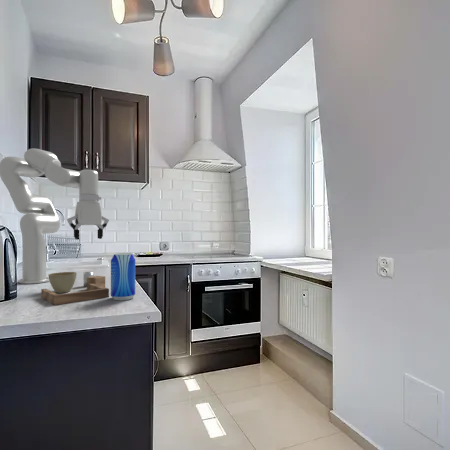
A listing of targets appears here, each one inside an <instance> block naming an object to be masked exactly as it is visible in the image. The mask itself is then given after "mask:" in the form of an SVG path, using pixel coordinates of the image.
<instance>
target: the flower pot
mask: <svg viewBox="0 0 450 450" xmlns="http://www.w3.org/2000/svg"><path fill="white" fill-rule="evenodd" d="M77 275H78V274H77V272H76V271H75V272H74V271H63V272H62V271H61V272H59V271H58V272H53V273H48V276H47V277H48V278H49V281H48V282H49V283H50V287H52V289H53V292H54V293H56V294H66V293H70V292H71V291H72V288H73V287H74V285H75V282H76V279H77Z"/></svg>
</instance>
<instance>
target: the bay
mask: <svg viewBox="0 0 450 450" xmlns="http://www.w3.org/2000/svg"><path fill="white" fill-rule="evenodd" d="M40 292H41V295H40V296H41V299H43V300H45V301H46V302H48V303H50V304H52V305H54V306H59V305H65V304H71V303H77V302H78V303H79V302H84V301H90V300H96V299H97V300H98V299H103V298H109V297H110V289H109V288H108V287H106V286H105V287H102V286H99V285H96V284H93V283H90V284H88V289H87V290H82V291H75V292H66V293H56V292H55V291H52V290H49V289H47V288H41V291H40Z"/></svg>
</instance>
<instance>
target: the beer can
mask: <svg viewBox="0 0 450 450" xmlns="http://www.w3.org/2000/svg"><path fill="white" fill-rule="evenodd" d="M135 295H136V258H135V256H134V254H133V253H132V252H116V253H113V256H112V257H111V259H110V296H111V298H112V299H113V300H114V301H128V300H132V299H133V298H134V296H135Z"/></svg>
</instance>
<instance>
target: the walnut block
mask: <svg viewBox="0 0 450 450" xmlns="http://www.w3.org/2000/svg"><path fill="white" fill-rule="evenodd" d="M90 283H93V284H96V285H99V286H102V287H105V288H106V276H103V275H94V276H92V277H87V287H86V290H88V284H90Z"/></svg>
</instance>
